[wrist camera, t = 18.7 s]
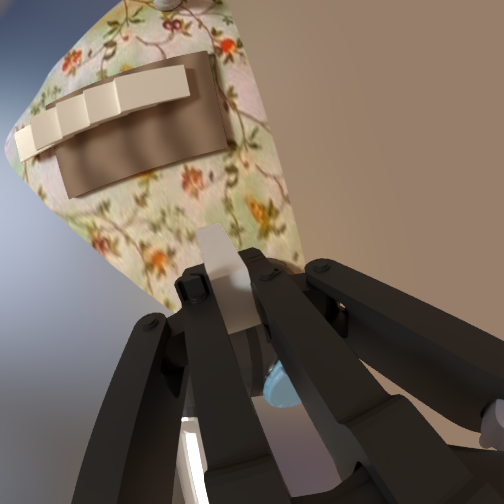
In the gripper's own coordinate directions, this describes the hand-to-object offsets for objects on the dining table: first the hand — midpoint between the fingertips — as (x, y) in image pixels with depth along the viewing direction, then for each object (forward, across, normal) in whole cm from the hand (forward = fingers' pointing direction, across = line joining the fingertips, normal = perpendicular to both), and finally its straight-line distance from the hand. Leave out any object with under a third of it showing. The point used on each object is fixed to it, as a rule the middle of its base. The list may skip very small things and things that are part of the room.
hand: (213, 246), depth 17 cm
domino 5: (+25, -3, -16) cm, 30 cm away
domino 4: (+25, +2, -16) cm, 30 cm away
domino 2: (+25, +11, -16) cm, 32 cm away
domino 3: (+25, +6, -16) cm, 30 cm away
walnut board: (+27, +6, -12) cm, 31 cm away
